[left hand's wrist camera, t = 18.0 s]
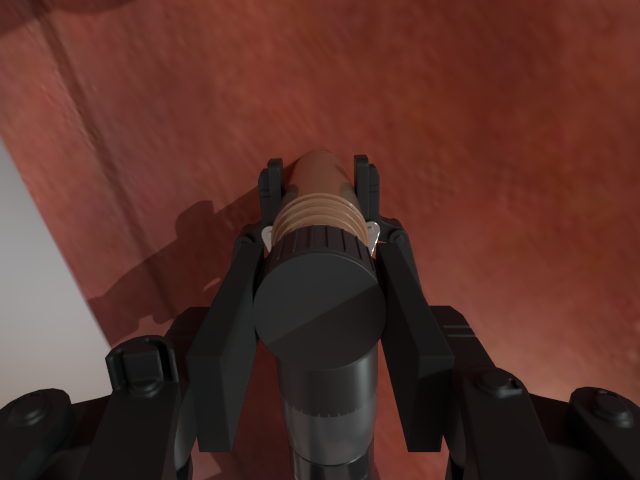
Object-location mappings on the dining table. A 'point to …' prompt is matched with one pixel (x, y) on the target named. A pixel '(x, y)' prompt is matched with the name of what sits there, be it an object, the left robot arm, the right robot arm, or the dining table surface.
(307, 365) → the cap
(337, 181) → the bottle
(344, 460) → the right robot arm
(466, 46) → the dining table surface
